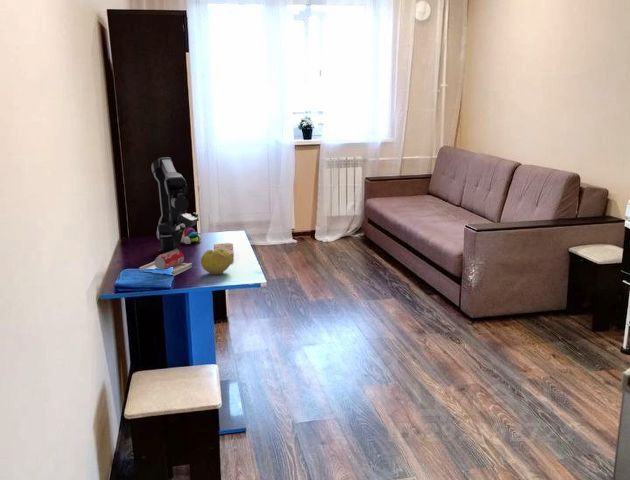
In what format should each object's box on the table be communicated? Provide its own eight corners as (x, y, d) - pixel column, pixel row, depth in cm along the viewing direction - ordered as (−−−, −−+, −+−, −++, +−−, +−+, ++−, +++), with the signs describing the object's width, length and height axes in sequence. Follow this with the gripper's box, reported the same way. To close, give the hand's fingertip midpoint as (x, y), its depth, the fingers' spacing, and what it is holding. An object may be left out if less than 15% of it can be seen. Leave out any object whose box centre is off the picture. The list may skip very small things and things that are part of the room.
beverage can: (171, 249, 244) (151, 256, 233) (183, 247, 241) (163, 254, 230) (174, 264, 245) (155, 271, 234) (186, 262, 242) (167, 270, 231)
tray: (139, 271, 235) (139, 267, 234) (159, 263, 246) (159, 259, 246) (173, 276, 229) (173, 272, 228) (192, 267, 241) (192, 263, 240)
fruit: (233, 277, 227) (232, 252, 225) (201, 279, 225) (200, 253, 223) (231, 269, 238) (230, 244, 235) (201, 270, 236) (200, 246, 233)
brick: (234, 263, 247) (233, 252, 246) (213, 264, 246) (213, 253, 245) (233, 253, 263) (232, 242, 262) (214, 253, 262) (213, 243, 261)
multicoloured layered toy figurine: (193, 239, 286) (192, 224, 284) (204, 243, 279) (203, 228, 277) (177, 242, 281) (176, 227, 279) (188, 246, 274) (187, 230, 272)
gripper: (179, 212, 229) (182, 252, 233) (206, 204, 246) (207, 241, 249) (155, 210, 233) (158, 249, 237) (183, 202, 250) (185, 238, 253)
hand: (178, 244), depth 244 cm, fingers closed
